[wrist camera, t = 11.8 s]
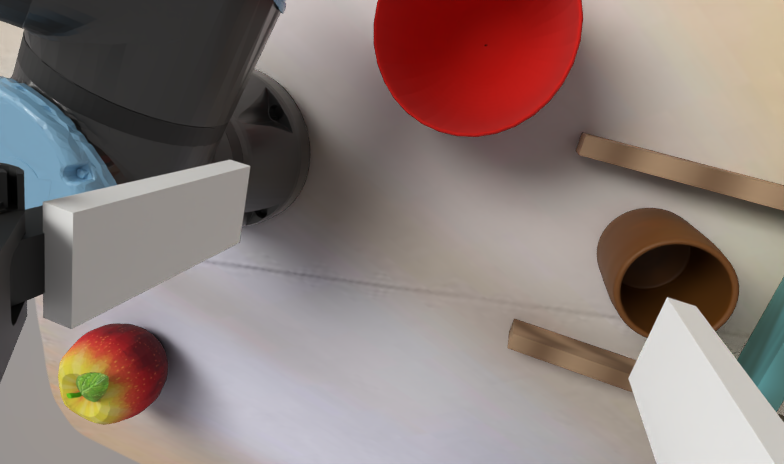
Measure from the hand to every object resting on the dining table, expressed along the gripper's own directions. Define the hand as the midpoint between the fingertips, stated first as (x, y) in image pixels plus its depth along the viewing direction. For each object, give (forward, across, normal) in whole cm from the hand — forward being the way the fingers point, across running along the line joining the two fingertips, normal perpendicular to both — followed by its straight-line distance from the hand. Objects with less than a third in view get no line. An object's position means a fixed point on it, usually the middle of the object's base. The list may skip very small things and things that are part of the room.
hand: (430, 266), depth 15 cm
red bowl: (+29, -4, +10) cm, 31 cm away
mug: (+29, +15, -6) cm, 33 cm away
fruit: (+29, -33, -34) cm, 55 cm away
